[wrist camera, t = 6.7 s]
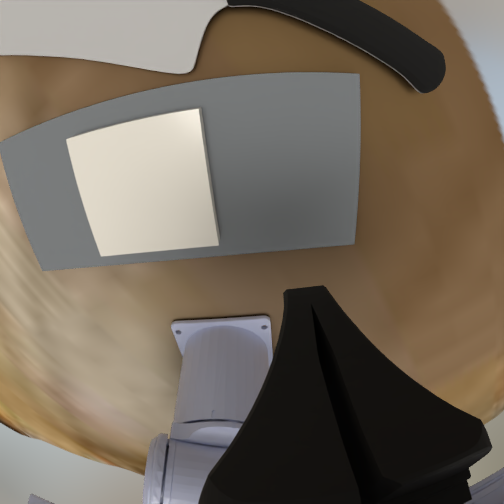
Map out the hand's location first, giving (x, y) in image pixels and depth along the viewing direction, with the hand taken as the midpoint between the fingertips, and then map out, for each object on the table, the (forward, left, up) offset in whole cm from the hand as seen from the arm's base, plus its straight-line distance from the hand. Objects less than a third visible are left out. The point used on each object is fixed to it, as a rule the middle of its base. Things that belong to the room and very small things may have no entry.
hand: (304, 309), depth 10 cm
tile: (+2, +4, -8) cm, 10 cm away
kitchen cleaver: (+13, +5, -10) cm, 17 cm away
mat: (+2, +7, -10) cm, 12 cm away
